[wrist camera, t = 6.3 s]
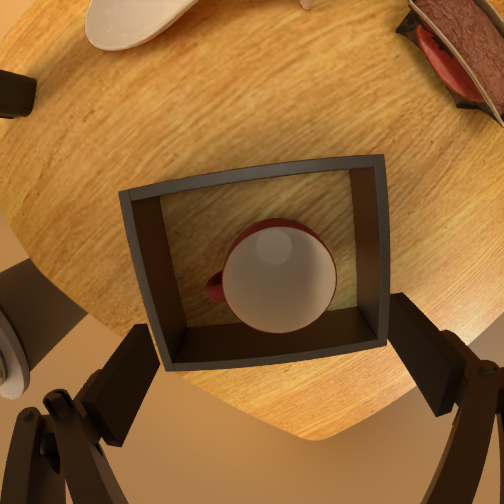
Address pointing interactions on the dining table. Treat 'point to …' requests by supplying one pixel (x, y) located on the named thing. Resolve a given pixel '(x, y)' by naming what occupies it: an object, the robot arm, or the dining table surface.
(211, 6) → the dining table surface
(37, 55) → the dining table surface
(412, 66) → the dining table surface
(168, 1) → the spoon rest
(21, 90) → the candle
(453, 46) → the baking dish
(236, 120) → the dining table surface
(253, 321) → the mug
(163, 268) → the dark rectangular frame
